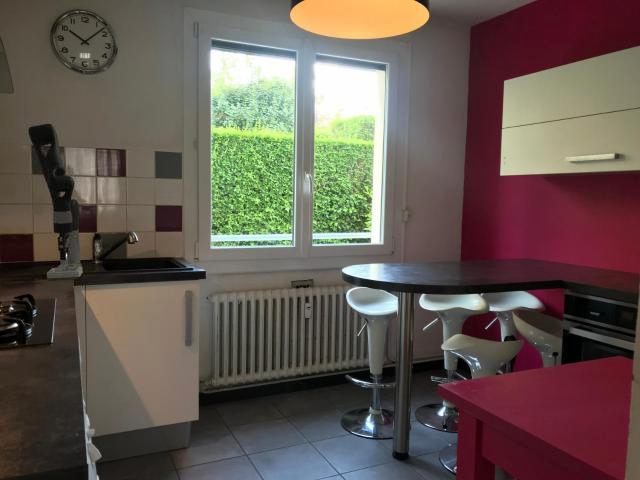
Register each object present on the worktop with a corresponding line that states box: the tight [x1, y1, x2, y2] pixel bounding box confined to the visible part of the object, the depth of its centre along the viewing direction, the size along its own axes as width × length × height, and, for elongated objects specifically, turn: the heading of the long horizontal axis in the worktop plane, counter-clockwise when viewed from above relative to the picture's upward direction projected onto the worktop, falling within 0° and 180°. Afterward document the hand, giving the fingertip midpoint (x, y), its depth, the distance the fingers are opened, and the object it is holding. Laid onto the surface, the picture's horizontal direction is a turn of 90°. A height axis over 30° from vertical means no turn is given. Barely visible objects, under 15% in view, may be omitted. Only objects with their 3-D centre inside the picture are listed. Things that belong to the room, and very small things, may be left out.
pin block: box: [56, 263, 82, 268], centre depth 244 cm, size 9×9×4 cm
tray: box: [46, 266, 83, 282], centre depth 232 cm, size 12×12×4 cm
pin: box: [62, 253, 68, 272], centre depth 232 cm, size 3×3×10 cm
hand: (64, 258), depth 232 cm, fingers open, 7 cm apart
